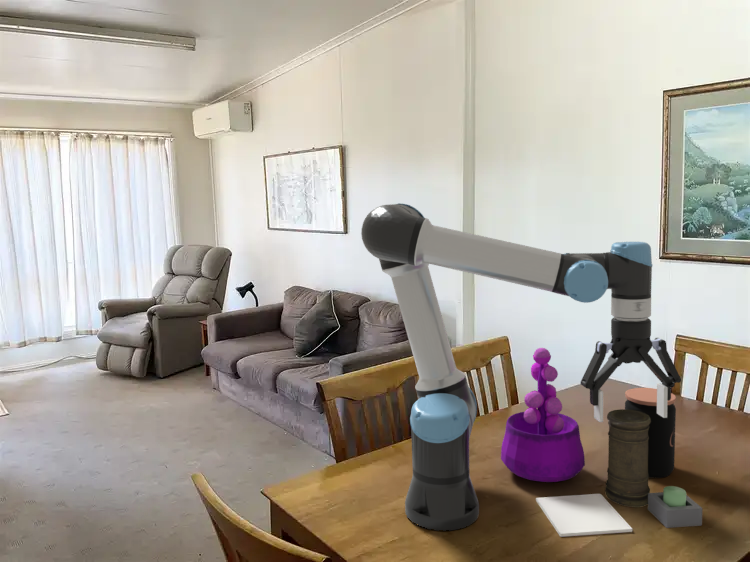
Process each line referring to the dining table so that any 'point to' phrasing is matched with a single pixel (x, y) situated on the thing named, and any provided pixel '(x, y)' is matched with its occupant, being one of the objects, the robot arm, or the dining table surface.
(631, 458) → the container
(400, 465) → the dining table surface
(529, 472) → the decorative plant
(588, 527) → the paper sheet
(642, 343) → the robot arm
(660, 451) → the coffee jar
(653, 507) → the button housing
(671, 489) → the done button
